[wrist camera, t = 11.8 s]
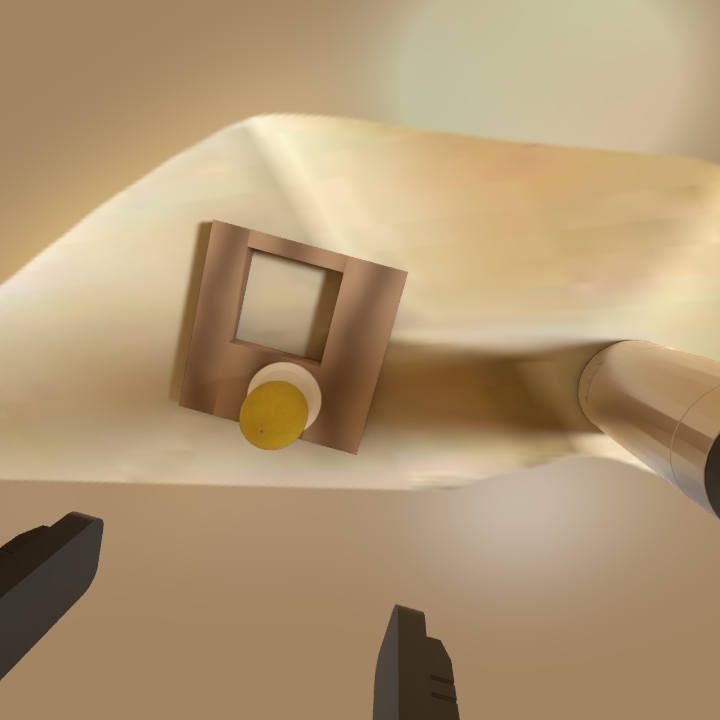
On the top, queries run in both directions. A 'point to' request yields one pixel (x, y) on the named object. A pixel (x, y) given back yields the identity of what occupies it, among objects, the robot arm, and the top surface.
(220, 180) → the top surface
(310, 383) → the saucer
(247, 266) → the pocket board
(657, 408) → the robot arm
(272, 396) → the lemon
